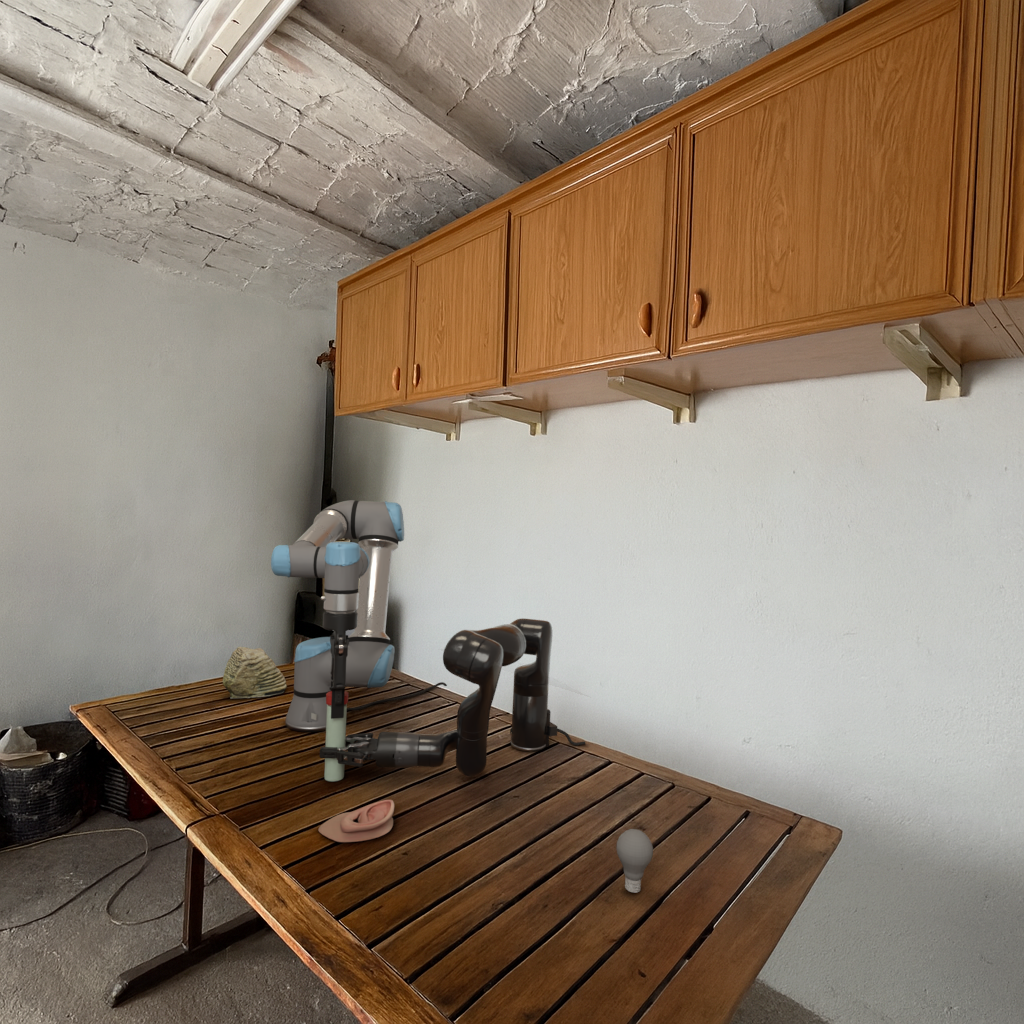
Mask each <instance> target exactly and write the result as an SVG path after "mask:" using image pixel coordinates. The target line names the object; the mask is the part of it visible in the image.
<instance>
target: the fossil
mask: <svg viewBox="0 0 1024 1024" xmlns="http://www.w3.org/2000/svg"><path fill="white" fill-rule="evenodd" d="M222 676H223V677H222V685H223V687H224V688H225V690H226V691H228V693H229V698H230V699H250V698H264V697H271V696H275V695H281V694H284V693H285V691H286V689H287V687H288V686H287V680H286V678H285V676H284V674H283V673H282V672H281V669H279V668H278V667H277V665H276V663H275V662H274V660H273V659H272V658H271V657H270V656H269V655H268V654H267V653H266V652H265V650H264V649H263V648H260V647H258V648H251V647H247V646H246V647H245V646H238V647H237V648H236V649H235V650H233V651H232V653H231V656H230V657H229V659H228V660H227V663H226V666H225V668H224V671H223V675H222Z"/></svg>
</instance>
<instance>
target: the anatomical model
mask: <svg viewBox="0 0 1024 1024" xmlns="http://www.w3.org/2000/svg"><path fill="white" fill-rule="evenodd" d="M394 812H395V801H394V800H392V799H384V800H380V801H377V802H373V803H370V804H368V805H365V806H363V807H360V808H357V809H355V810H353V811H348V812H343V813H340V814H337V815H334V816H333V817H331V818H330V819H328V820H326V821H325V822H323V823H322V824H321V825H320V826H319V827H318V829H317V830H318V832H319V834H321V835H322V836H324V837H325V838H328V839H330V840H332V841H334V842H337V843H355V842H363V841H370V840H374V839H376V838H380V837H382V836H384V835H386V834H388V833H389V832H390V831H391V830H392V828H393V826H394V818H393V815H394Z"/></svg>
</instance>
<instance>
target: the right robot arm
mask: <svg viewBox="0 0 1024 1024" xmlns="http://www.w3.org/2000/svg"><path fill="white" fill-rule="evenodd" d="M552 645H553V627H552V624H551V622H550V621H548V620H544V619H543V620H542V619H534V618H523V617H522V618H517V619H515V620H513V621H511V622H510V623H506V624H499V625H496V626H493V627H489V628H488V627H487V628H484V629H462V630H459V631H457V632H456V633H455V634H454V635H453V636H452V637H450V638H449V640H448V642H447V643H446V645H445V647H444V649H443V654H442V663H443V666H444V668H445V669H446V670H447V671H448V672H449V673H450V674H452V675H454V676H456V677H458V678H461V679H463V680H464V681H467V682H470V683H472V684H474V685H478V688H477V689H476V690H474V691H473V692H471V693H470V694H468V696H466V697H465V698H464V699H463V700H462V701H461V703H460V704H459V706H458V709H457V713H456V729H455V730H450V731H446V732H443V733H442V732H441V733H436V734H435V733H415V732H406V731H405V732H402V731H380V732H379V734H378V736H377V738H374V733H373V732H365V733H354V734H346V739H345V747H339V748H337V747H326V740H325V741H324V746H321V747H320V749H319V758H320V759H325V758H337V760H338V763H339V764H344V766H345V765H346V766H352V767H359V768H363V767H364V762H368V761H375V764H376V765H375V766H376V767H377V768H398V769H400V768H401V769H402V768H403V769H408V768H409V769H410V768H419V767H420V768H439V767H441V766H443V765H444V763H445V760H446V757H447V755H448V753H450V752H453V751H455V766H456V769H457V771H458V772H459V773H460V774H461V775H463V776H465V777H468V778H473V777H477V776H479V775H480V774H482V772H483V771H484V770H485V769H486V767H487V761H488V760H487V759H488V757H487V756H488V755H487V753H488V734H489V727H490V715H491V710H492V709H491V708H492V704H493V701H494V697H495V695H496V691H497V688H498V684H499V679H500V676H501V672H502V668H503V667H507V666H510V665H512V664H514V663H516V662H518V661H519V660H520V659H522V658H523V656H524V655H529V656H536V657H535V661H533V662H531V663H528V664H522V665H520V666H519V665H518V666H517V667H516V668H515V669H514V671H513V689H512V711H511V727H510V730H509V734H510V746H511V747H512V748H513V749H515V750H518V751H522V752H539V751H542V750H545V748H548V747H550V738H551V737H556V736H558V733H560V734H562V735H564V736H565V737H566V739H567V741H568V743H569V744H570V745H572V746H575V747H576V746H583V745H584V746H585V745H586V741H579V742H575V741H573V740H572V738H571V736H570V735H569V733H567V732H566V731H565V730H563V729H560V728H558V725H556V724H555V723H553V722H552V721H551V710H550V709H549V707H548V706H549V705H548V704H549V685H550V684H549V683H550V669H551V655H552Z"/></svg>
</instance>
